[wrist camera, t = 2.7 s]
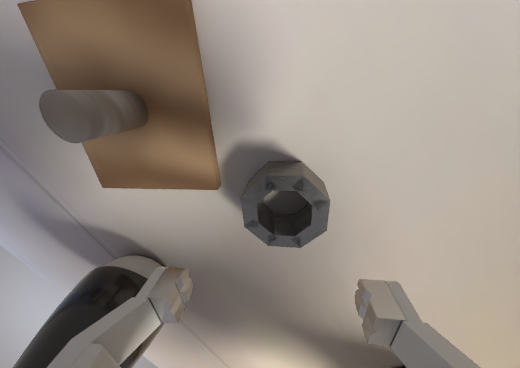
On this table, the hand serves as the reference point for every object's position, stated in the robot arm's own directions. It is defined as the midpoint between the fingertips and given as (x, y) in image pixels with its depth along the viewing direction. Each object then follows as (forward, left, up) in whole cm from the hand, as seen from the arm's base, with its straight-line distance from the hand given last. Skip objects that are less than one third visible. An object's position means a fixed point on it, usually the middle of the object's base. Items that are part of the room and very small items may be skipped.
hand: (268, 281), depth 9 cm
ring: (0, -1, -9) cm, 9 cm away
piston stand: (+8, +11, -9) cm, 17 cm away
